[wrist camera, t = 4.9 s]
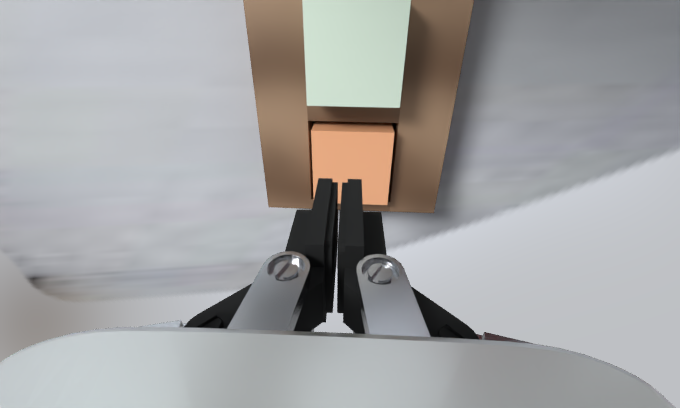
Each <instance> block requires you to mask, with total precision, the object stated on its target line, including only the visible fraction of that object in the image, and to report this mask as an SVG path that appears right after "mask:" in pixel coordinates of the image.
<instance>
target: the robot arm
mask: <svg viewBox="0 0 680 408" xmlns="http://www.w3.org/2000/svg"><path fill="white" fill-rule="evenodd" d="M337 243H338V294H337V297H338V298H337V301H338V303H337V312H338V313H343V322H344V323H345V324H346V325H347V326H348V327H349V328H350V329H351V330H353V334H352V333H327V332H314V328H315V327H317V326H318V325H319V324H321V323H322V322H326V314H327V313H332V312H333V299H334V285H335V272H336V258H337ZM0 408H676V407H674V406H673V405H672V404H671V403H670V402H669V401H668V400H667V399H666V398H665V397H664V396H663V395H662V394H660V393H659V392H658V391H657V390H656V389H654V388H653V387H652V386H651V385H649V384H648V383H646V382H645V381H643V380H641V379H640V378H639V377H637V376H635V375H633V374H631V373H629V372H627V371H625V370H623V369H621V368H619V367H617V366H614V365H612V364H610V363H607V362H604V361H601V360H598V359H595V358H592V357H590V356H587V355H584V354H580V353H576V352H573V351H569V350H565V349H561V348H555V347H550V346H544V345H537V344H533V343H529V342H524V341H520V340H516V339H512V338H507V337H503V336H499V335H495V334H491V333H486V332H484V334H483V336H482V335H478V334H475V332H474V331H473V330H472V329H471V328H470V327H469V326H467V325H466V324H465V323H463V322H462V321H460V320H459V319H458V318H456V317H455V316H453V315H451V314H450V313H449V312H447V311H446V310H445V309H443V308H442V307H440V306H438V305H437V304H436V303H434V302H433V301H431V300H430V299H429V298H427V297H426V296H424V295H423V294H421V293H420V292H418V291H417V290H415V289H414V288H413V287H411V285H410V283H409V280H408V278H407V275H406V273H405V270H404V268H403V266H402V265H401V263H400V262H398V261H397V260H396V259H394V258H392V257H390V256H387V255H386V247H385V239H384V231H383V223H382V215H381V212H363V201H362V179H348V182H342V192H341V206H340V220H339V235H338V182H333V179H332V178H318V183H317V187H316V192H315V197H314V202H313V207H312V210H297V211H296V215H295V218H294V222H293V225H292V229H291V232H290V236H289V239H288V243H287V247H286V250H285V252H280V253H277V254H275V255H272V256H271V257H270V258H268V259H267V260H266V261H265V263H264V264H263V266H262V268H261V269H260V271H259V273H258V275H257V276H256V278H255V280H254V282H253V283H252V284H250V285H248V286H247V287H245V288H243V289H241V290H240V291H238V292H236V293H234V294H233V295H231V296H229V297H227V298H226V299H224V300H222V301H220V302H219V303H217V304H215V305H213V306H212V307H210V308H208V309H206V310H205V311H203V312H201V313H199V314H197V315H196V316H195V317H193V318H192V319H191V320H190V321H189V322H188V323H184V324H182V321H181V320H178V321H172V322H166V323H159V324H153V325H147V326H140V327H116V328H105V329H95V330H89V331H83V332H77V333H72V334H68V335H64V336H60V337H56V338H53V339H49V340H46V341H43V342H40V343H37V344H34V345H32V346H30V347H27V348H25V349H22V350H20V351H18V352H17V353H15V354H13V355H11V356H9V357H7V358H6V359H4V360H3V361H1V362H0Z"/></svg>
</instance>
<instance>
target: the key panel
mask: <svg viewBox="0 0 680 408" xmlns="http://www.w3.org/2000/svg"><path fill="white" fill-rule="evenodd" d="M243 2H244V10H245V18H246V27H247V35H248V43H249V51H250V59H251V67H252V75H253V83H254V91H255V99H256V108H257V116H258V124H259V132H260V140H261V148H262V156H263V164H264V172H265V181H266V189H267V197H268V205H269V207H281V208H308V209H312V207H313V202H314V195H313V169H312V142H311V130H312V127H313V125H314V123H315V121H338V122H379V123H392V127H393V130H394V143H393V153H392V163H391V173H390V183H389V193H388V203H387V205H369V204H363V211H391V212H418V213H434V209H435V204H436V198H437V193H438V188H439V182H440V177H441V172H442V167H443V161H444V156H445V151H446V146H447V140H448V135H449V130H450V124H451V119H452V114H453V109H454V103H455V98H456V93H457V87H458V82H459V77H460V72H461V66H462V61H463V56H464V51H465V45H466V40H467V35H468V29H469V24H470V19H471V14H472V8H473V3H474V0H411V5H410V15H409V24H408V34H407V44H406V53H405V63H404V73H403V82H402V92H401V101H400V108H384V107H339V106H307V97H306V74H305V51H304V28H303V5H302V0H243ZM340 206H341V203H338V210H340Z"/></svg>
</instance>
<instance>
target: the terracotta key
mask: <svg viewBox="0 0 680 408" xmlns="http://www.w3.org/2000/svg"><path fill="white" fill-rule="evenodd" d="M311 142H312V169H313V195H314V197H315V192H316V187H317V183H318V178H332V179H333V182H338V203H341V192H342V182H348V179H362V201H363V204H369V205H387V203H388V193H389V183H390V173H391V163H392V153H393V143H394V130H393V127H392V123H379V122H338V121H315V123H314V125H313V127H312V130H311Z"/></svg>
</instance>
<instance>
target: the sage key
mask: <svg viewBox="0 0 680 408" xmlns="http://www.w3.org/2000/svg"><path fill="white" fill-rule="evenodd" d="M302 5H303V28H304V51H305V74H306V97H307V106H339V107H384V108H400V101H401V92H402V82H403V73H404V63H405V53H406V44H407V34H408V24H409V15H410V5H411V0H302Z"/></svg>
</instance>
